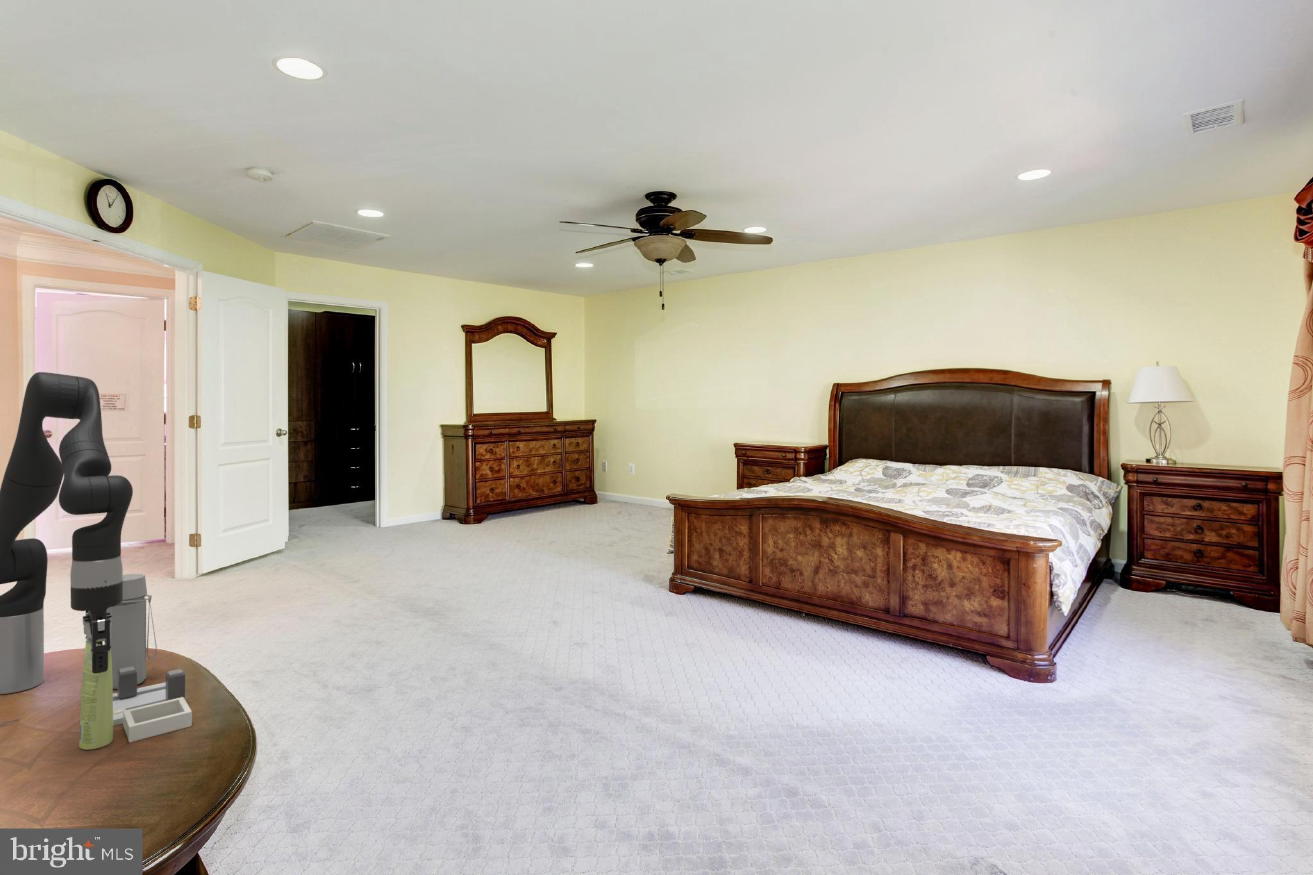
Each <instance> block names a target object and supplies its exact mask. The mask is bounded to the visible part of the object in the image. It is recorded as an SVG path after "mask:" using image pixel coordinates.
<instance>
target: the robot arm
mask: <svg viewBox="0 0 1313 875" xmlns="http://www.w3.org/2000/svg"><path fill="white" fill-rule="evenodd" d="M25 388H26V389H25V392H24V396H23V401H22V406H21V412H20V417H19V422H18V428H17V432H16V437H15V440H14V443H13V446H12V447H13V448H12V450H11V453H10V457H9V459H8V463H7V466H6V468H5V472H4V475H3V478H2V481H1V486H0V585H4V584H11V583H15V585H13V587H12V588H10V589H9V590H8V591H6V592H4V593H2V594H1V595H0V695H5V694H12V693H14V694H15V693H19V692H23V691H26V690H31V689H33V688H35V687H37V686H39V685H41V684H43V683H44V681H45V670H44V669H45V666H44V664H45V634H44V633H45V627H44V626H45V621H44V613H45V612H44V609H45V608H44V605H45V604H44V602H45V598H46V594H47V593H46V592H47V576H48V575H47V574H48V563H49V562H48V551H47V548H46V545H45V544H44V542H43V541H42V540H40V539H38V538H35V537H33V538H24V539H17V537H18V536H19V535H20V533H21V532H22V531H23V530H24V529H25V528H26V527H27V526H28V525H29V524H30V523H32V522H33V521H34V520H35V519H37V517H39V516H40V515H41V514H42V513H43V512H45V511H46V510H47V509H48V508H49V507H50V506H51V505H52V504H53V503H54V502H55V500H56V499H57V497H58V503H59V506H60V508H61V509H62V510H63V511H64V512H65V513H67V514H69V515H73V516H81V515H94V514H95V515H96V514H105V516H104V517H103V519H101V520H100V521H98V522H97V523H92V524H90V525H86V526H83V527H79V528H76V529H75V530H74V531H73V533H72V536H71V556H72V557H71V559H72V561H71V568H70V608H71V609H72V610H74V611H78V612H85V615H82V625H83V634H84V635H85V640H86V641H87V643H90V644H91V650H90V652H91V654H92V672H93V673H94V674H97V673H102V672H106V671H107V670H108V651H110V648H111V646H110V639H111V623H112V616H111V615H110V612H108V613H107V609H108V608H109V607H114V606H117V605H119V604H120V603H121V602H122V601H123V575H124V574H123V569H124V568H123V563H122V562H123V560H122V543H121V542H122V531H123V526H124V523H125V520H126V519H125V518H126V516H127V513H128V510H129V507H130V505H131V502H132V499H133V494H134V490H133V489H134V488H133V486H132V485H133V484H132V483H131V482H130V481H129V479H128V478H127V477H125V476H122V475H115V474H113V475H110V474H111V472H112V464H111V459H110V457H109V453H108V450H107V448H106V444H105V441H104V436H103V419H102V408H101V406H102V405H101V397H100V392H99V388H98V386H97V384H96V383H95V381H93V380H92V379H91V378H88V377H87V378H86V377H85V376H84V377H83V376H78V375H77V376H76V375H71V374H70V375H69V374H63V373H54V372H46V371H45V372H44V371H38V372H35V373H34V374H33V375H32V376H31V377H30V379H29V380H28V382H27V385H26V387H25ZM46 418H55V419H65V420H66V419H67V420H79V422H78V423H76V424H75V426H73V427H72V428H71V429H70V430H68V431H67V433H65V435H64V436H63V437H62V439H61V441H59V442H60V443H59V447H58V454H59V456H58V455H57V453H56V451H55V450H54V448H53V447H52V446H51V444H50V442H49V440H48V438H47V436H46V434H45V432H44V428H43V421H44V420H45V419H46ZM103 642H104V643H103ZM96 644H100V646H96Z"/></svg>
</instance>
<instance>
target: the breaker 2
mask: <svg viewBox="0 0 1313 875" xmlns="http://www.w3.org/2000/svg"><path fill="white" fill-rule="evenodd" d="M165 682H166V699H167V701H168V700H172V699H176V698H181V697H184V699H185V698H186V674H185V672H184V671H183V669H182V668H178V669H174V670H169V671H167V673H165Z"/></svg>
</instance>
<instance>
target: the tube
mask: <svg viewBox="0 0 1313 875" xmlns="http://www.w3.org/2000/svg"><path fill="white" fill-rule="evenodd" d="M96 646H100V644H96ZM90 650H91V644H90V643H87V640H85V646H84V653H83V654H84V655H83V663H82V664H83V666H82V680H81V696H80V713H79V714H80V717H79V739H78V740H79V744H78V746H79V748H80V749H81V750H86V751H87V750H96V749H100V748H103V747H106V746H107V745H109V744H111V743H112V742H113V740H114V726H113V694H114V692H113V690H114V689H113V684H112V658H111V648H110V651H108V670H107V671H106V672H102V673H97V674H94V673H93V672H92V654H91V652H90Z"/></svg>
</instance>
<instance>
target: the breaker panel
mask: <svg viewBox="0 0 1313 875" xmlns="http://www.w3.org/2000/svg"><path fill="white" fill-rule="evenodd" d="M164 701H167V699H166V681H164V682H161V683H156V684H152V685H151V684H150V685H148V686H142V687H137V695H134V696H130V697H125V698H121V699H119V697H118V694H117V692H115V693H114V692H113V727H114V726H118V725H119V726H120V725H123V711H125V710H129V709H134V708H138V707H142V706H146V705H151V704H155V703H159V702H164Z"/></svg>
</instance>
